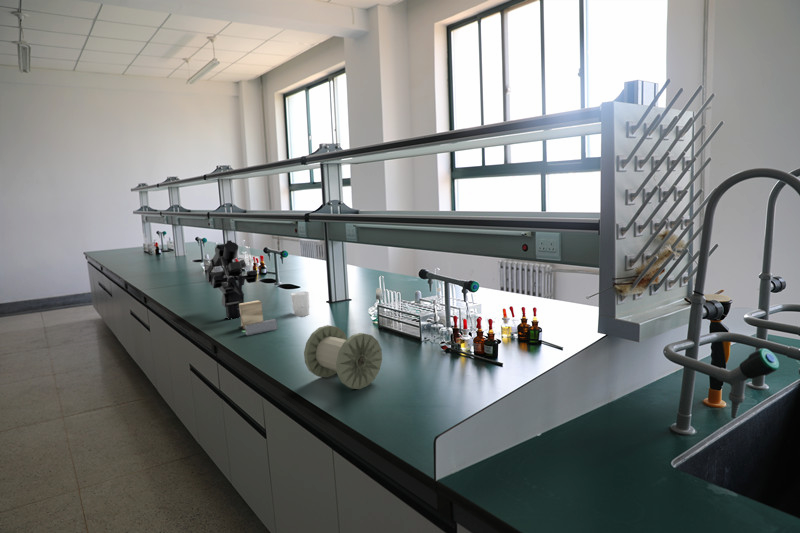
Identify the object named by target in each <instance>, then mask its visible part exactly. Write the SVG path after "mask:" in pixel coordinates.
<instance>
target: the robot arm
mask: <svg viewBox="0 0 800 533" xmlns="http://www.w3.org/2000/svg"><path fill="white" fill-rule="evenodd" d="M238 251H239V245H238V244H237V243H235V242H234V241H232V240H231V239H230V240H226V243H220V244H216V245H215V247H214V252H215V254H214V256H213V257H212V258H211V259H210V260H209V264H210V265H209V266H208V267H207V269H206V280H207V281H206V282H207V283H208V284H209V285H210V286H212V288H213V289H219V290H220V292H221V293H222V297H221V305H222V307H224V308H225V312H226V317H228V318H229V319H228V320H231V318H232V320H235V319H236V318H237V319H240V318H239V317H240V308H239V304H240V303H245V299H244V298H245V293H244V292H243V290H242V289H243V286H245V282H246V283H248V284H252V283H255V282H257V279H258V274H259V273H258V271H257V270H254V269H253V270H248V271H246V273H245V274H242V273H243V271H242V269H245V268H246V267H247V263H246V260H245V259H241V260H239V261H236V259H237V257H238ZM215 267H216V268H217V267H221V268H222V270H221V271H220V270H219V271H215V272H213V270H214V268H215Z"/></svg>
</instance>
